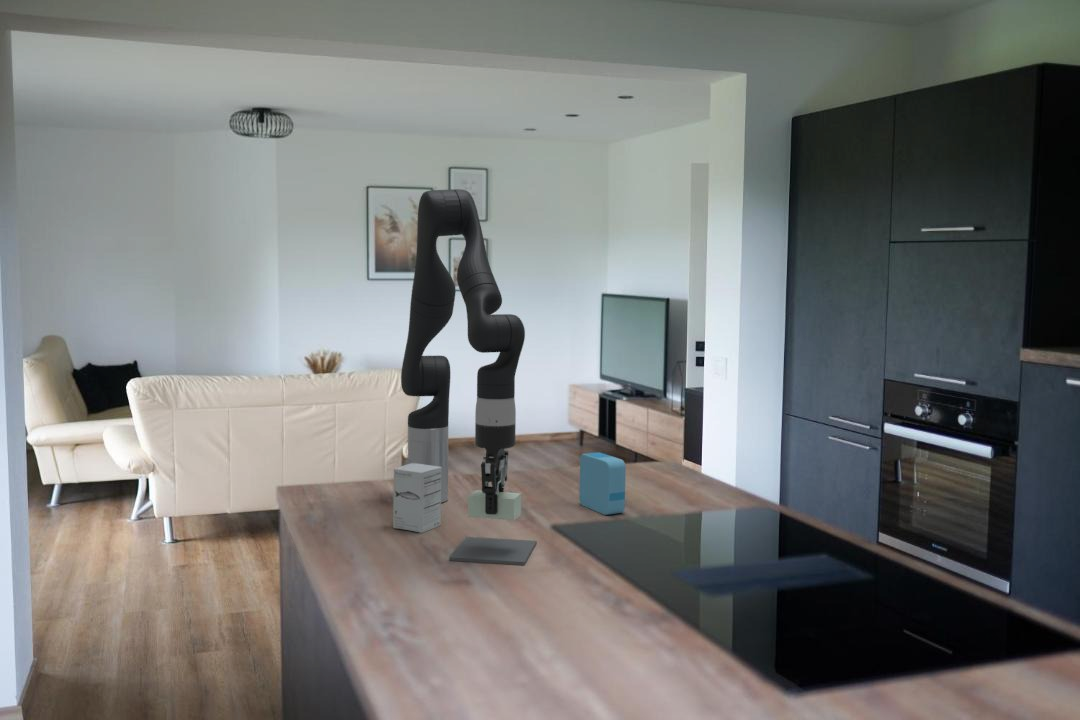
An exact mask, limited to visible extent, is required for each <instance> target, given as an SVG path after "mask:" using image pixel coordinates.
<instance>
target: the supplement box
mask: <svg viewBox="0 0 1080 720" xmlns="http://www.w3.org/2000/svg"><path fill="white" fill-rule="evenodd" d="M441 473H442V467H438V466H431V465H424V464H417V463H410V464H407V465H405V464H404V465H401V466H398V467H395V468H393V500H392V501H393V502H392V503H393V507H392V508H393V512H392V514H393V515H392V517H393V518H392V524H393V525H392V527H393V528H392V529H397V530H398V529H400V530H404V531H405V530H406V531H411V532H415V533H419V534H423V533H426V532H428V531H430V530H431V531H432V530H433V529H435V528H438V527H440V526H441V524H442V523H441V518H442V517H441V516H442V502H441Z"/></svg>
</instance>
